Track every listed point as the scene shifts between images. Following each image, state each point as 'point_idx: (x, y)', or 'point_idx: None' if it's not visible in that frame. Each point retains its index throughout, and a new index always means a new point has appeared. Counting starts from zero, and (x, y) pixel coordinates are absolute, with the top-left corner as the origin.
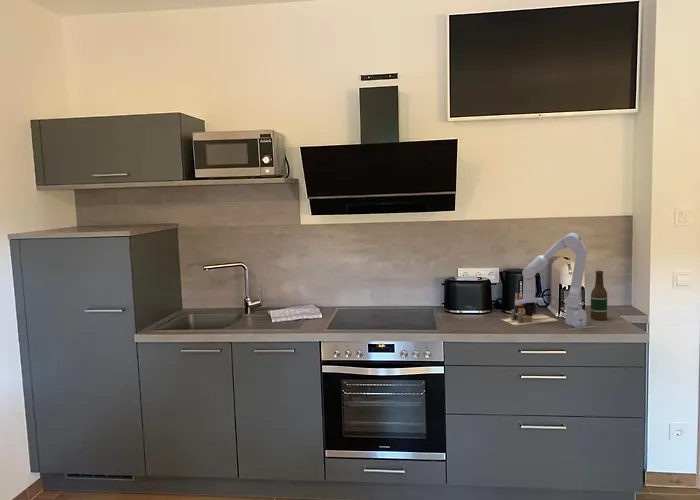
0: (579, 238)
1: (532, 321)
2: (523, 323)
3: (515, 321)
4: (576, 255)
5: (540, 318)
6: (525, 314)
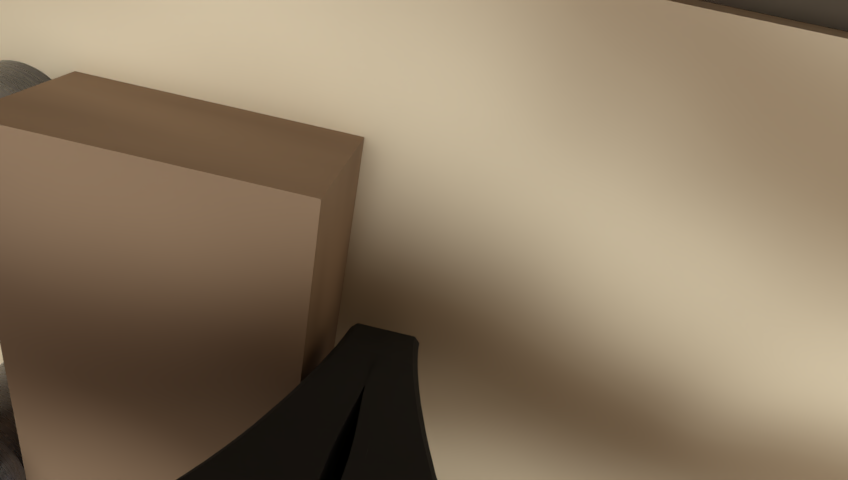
0: None
1: None
2: None
3: None
4: None
5: (703, 421)
6: (282, 360)
